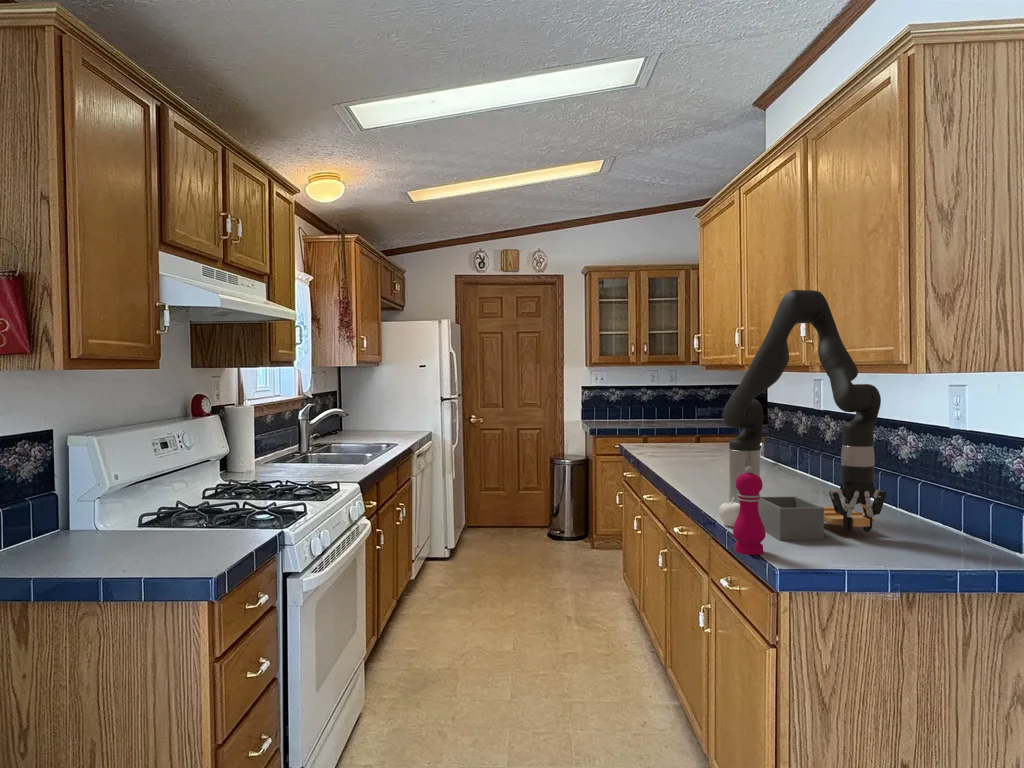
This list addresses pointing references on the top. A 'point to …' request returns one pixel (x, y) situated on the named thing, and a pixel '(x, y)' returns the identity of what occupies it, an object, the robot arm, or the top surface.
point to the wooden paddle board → (837, 519)
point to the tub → (791, 518)
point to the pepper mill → (749, 515)
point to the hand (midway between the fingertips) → (857, 530)
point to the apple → (729, 513)
